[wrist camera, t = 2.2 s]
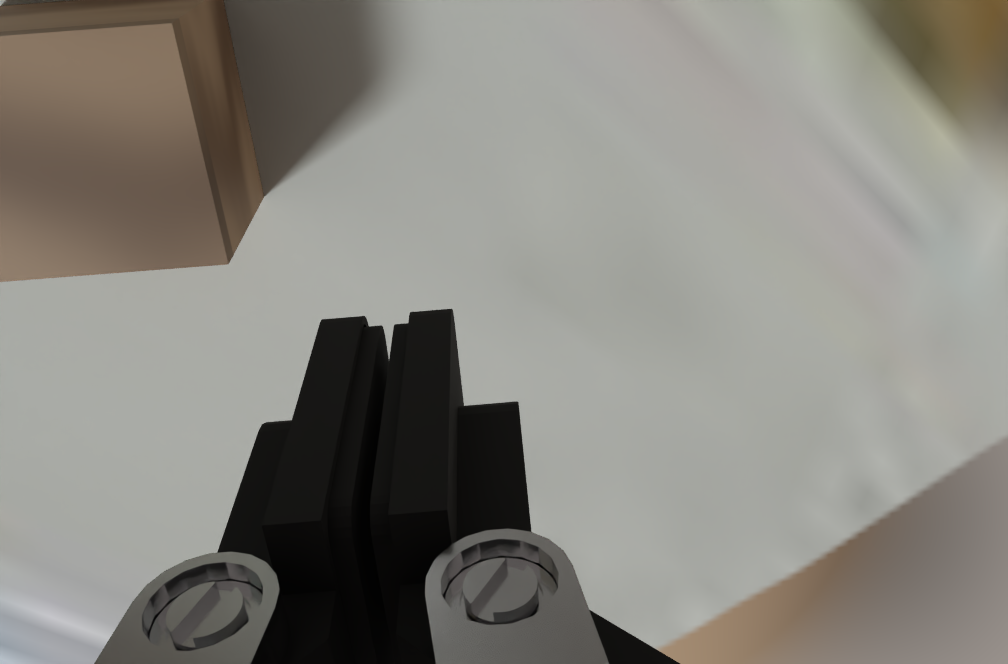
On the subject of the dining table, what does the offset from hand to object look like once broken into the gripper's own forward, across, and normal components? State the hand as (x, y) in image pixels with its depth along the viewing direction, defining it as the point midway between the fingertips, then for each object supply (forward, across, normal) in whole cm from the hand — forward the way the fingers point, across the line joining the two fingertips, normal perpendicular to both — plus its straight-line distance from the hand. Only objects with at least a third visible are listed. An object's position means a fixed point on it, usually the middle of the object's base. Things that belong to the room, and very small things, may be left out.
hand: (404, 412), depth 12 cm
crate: (+17, +8, 0) cm, 19 cm away
